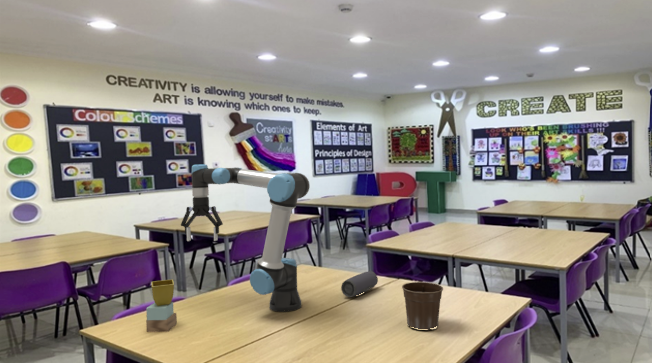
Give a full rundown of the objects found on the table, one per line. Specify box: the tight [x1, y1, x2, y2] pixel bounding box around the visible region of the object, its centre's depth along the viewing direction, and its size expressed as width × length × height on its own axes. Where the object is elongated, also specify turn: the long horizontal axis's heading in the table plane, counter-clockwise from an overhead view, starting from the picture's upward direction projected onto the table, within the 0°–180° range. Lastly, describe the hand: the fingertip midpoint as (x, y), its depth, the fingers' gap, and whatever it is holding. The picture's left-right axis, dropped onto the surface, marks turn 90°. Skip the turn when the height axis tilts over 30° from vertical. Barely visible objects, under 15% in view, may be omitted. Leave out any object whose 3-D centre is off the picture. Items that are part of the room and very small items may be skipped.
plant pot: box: [401, 281, 444, 329], centre depth 180 cm, size 16×16×16 cm
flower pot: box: [150, 279, 175, 306], centre depth 187 cm, size 9×9×9 cm
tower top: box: [146, 301, 175, 320], centre depth 186 cm, size 8×8×5 cm
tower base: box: [145, 312, 178, 333], centre depth 187 cm, size 9×9×5 cm
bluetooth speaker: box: [340, 270, 379, 298], centre depth 228 cm, size 23×9×10 cm, turn 144°
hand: (202, 240), depth 214 cm, fingers open, 13 cm apart
